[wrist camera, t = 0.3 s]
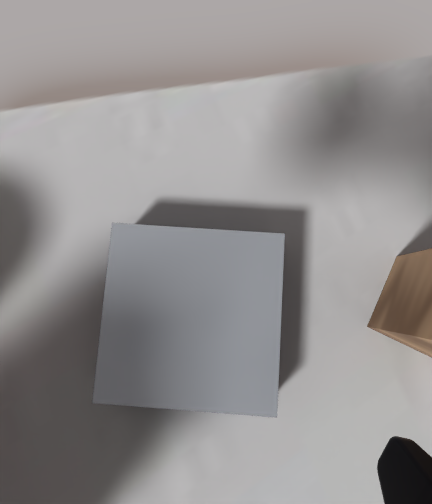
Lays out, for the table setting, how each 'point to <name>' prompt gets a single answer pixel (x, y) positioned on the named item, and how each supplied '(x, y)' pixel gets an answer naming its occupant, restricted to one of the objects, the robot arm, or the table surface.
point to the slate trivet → (191, 320)
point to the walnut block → (407, 302)
